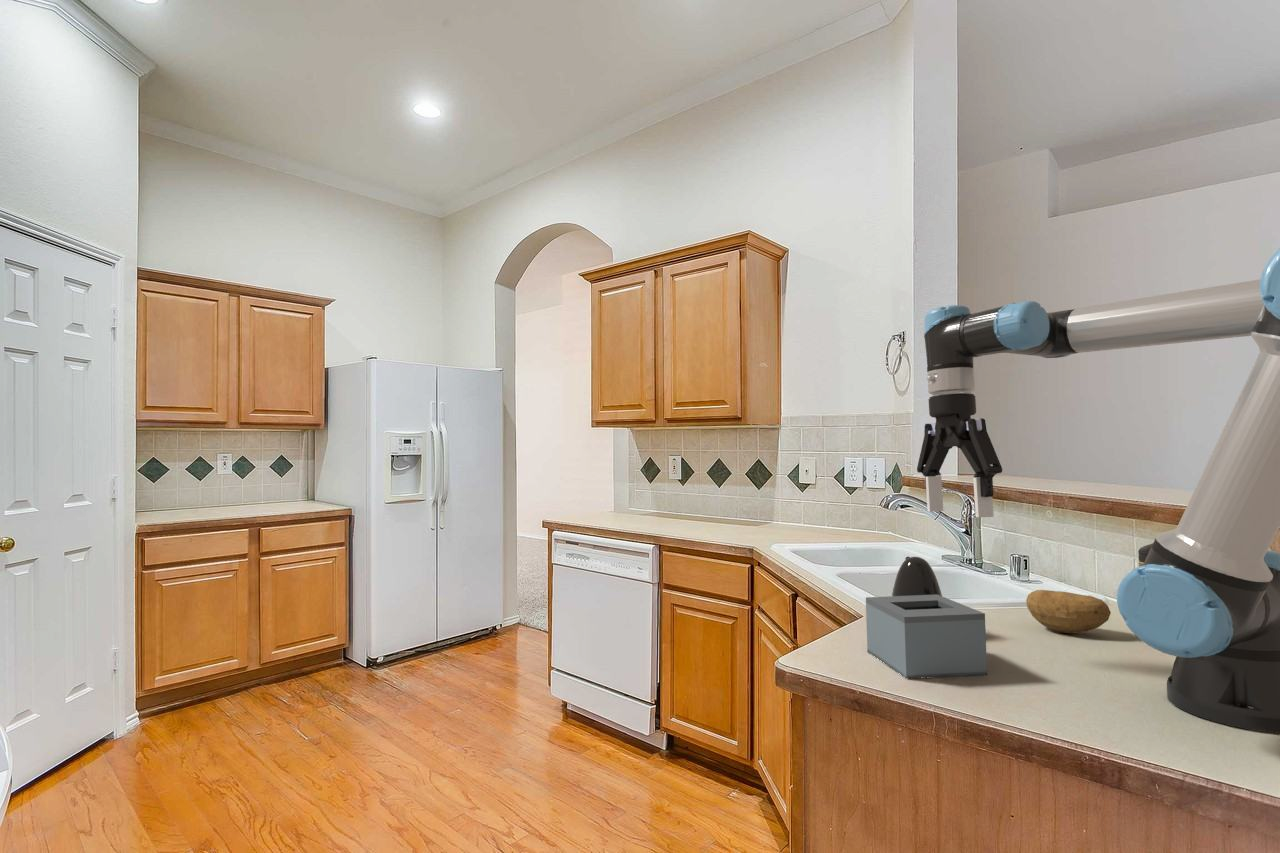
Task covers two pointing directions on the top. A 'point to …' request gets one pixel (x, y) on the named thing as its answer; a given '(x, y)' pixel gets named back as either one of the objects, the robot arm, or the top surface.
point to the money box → (926, 636)
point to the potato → (1067, 611)
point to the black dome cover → (915, 579)
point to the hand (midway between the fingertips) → (958, 514)
